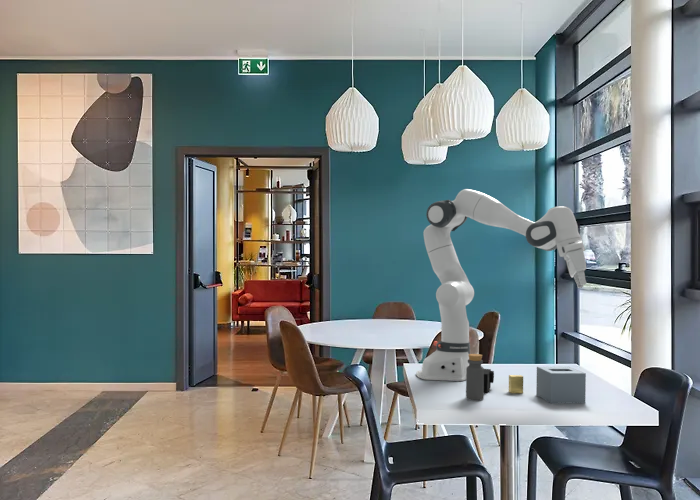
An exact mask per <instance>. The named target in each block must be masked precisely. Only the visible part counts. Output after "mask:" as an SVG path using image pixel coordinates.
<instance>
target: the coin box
mask: <svg viewBox="0 0 700 500" xmlns="http://www.w3.org/2000/svg"><path fill="white" fill-rule="evenodd" d="M586 377H587V376H586V373H585V372H583V371H580V370H579V369H575V368H573V367H571V366H536V396H537V397H539V398H542V399H543V400H544V401H546V402H547V403H549V404H586V389H587V387H586V386H587V385H586V382H587V381H586V380H587V379H586Z"/></svg>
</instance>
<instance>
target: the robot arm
mask: <svg viewBox="0 0 700 500" xmlns="http://www.w3.org/2000/svg"><path fill="white" fill-rule="evenodd" d="M425 216H426V220H427V221H428V223H429V225H427V226H426V227H425V228H424V230H423V233H422V234H423V240H424V246H425V249H426V253H427V255H428V258H429V261H430V264H431V268H432V271H433V272H434V274H435V275H436V277H437V278H438V279H439V282H440V283H441V284H440V285H439V286H438V288H437V289H436V292H435V297H436V298H435V299H436V301H437V303H438V308H439V314H440V315H439V316H440V321H441V322H440V323H441V339H440V341H437V340H434V341H433V343H432V344H433V346H435V348H436V350H435V351H433V352H432V353H431V354H430V355H428V356H427V357H425V358H424V360H423V361H422V366H421V370H417V371H416V374H415V375H416V377H418V378H419V379H422V380H424V381H425V380H428V381H429V380H430V381H450V382H451V381H452V382H453V381H454V382H455V381H456V382H463V381H466V369H467V367H468V366H469V363H468V359H469V356H468V355H469V354H471V342H470V322H469V319H468V315H467V308H466V306H468V305H469V304H470V303H471V302H472V301H473V299H474V297H475V289H474V287H473V285H472V284H471V283H470V280H469V278H468V276H467V274H466V272H465V271H464V269H463V268H462V266H461V263H460V261H459V257H458V255H457V252H456V249H455V247H454V244H453V241H452V238H451V232H455V231H456V230H457V229H458V228H460V227H462V225H463V224H465V223H466V221H467V219H468V218H470V219H471V220H474V221H476V222H477V223H480V224H483V225H485V226H491V227H497V228H503V229H507V230H510V231H513V232H515V233H518V234H519V235H523V236H524V237H525V238H526V241H527V243H528V244H529V245H530V246H532V247H535V248H538V249H541V250H543V251H547V252H551V251H555V250H556V249H557V252H558V255H559V257H560V258H561V257H562V258H563V259H564V261H565V262H566V266H567V270H568V273H569V275H570V277H571V278H573V279H574V282H575V283H576V286H577V288H578V289H581V288H584V285H587V280H586V274H585V271H586V270H587V262H586V257H585V253H584V251H586V250H585V249H586V248H585V245H584V242H583V239H582V236H581V234H580V233H579V227H578V223H577V221H576V220H577V219H576V217H575V215H574V212H573V211H572V209H571V208H570V207H568V206H566V205H565V206H563V205H562V206H560V205H559V206H554V207H551V208H549V209H548V210H547V212H546V213H545V214H544V215H543V216H542V217H541V218H540V219H538V220H537V221H535V222H534V221H532V220H531V219H528V218H525V217H523V216H521V215H520V214H517V213H515V211H513V210H511V209H510V208H509V207H507V206H506V205H505V204H503V203H502V202H500V201H499V200H498V199H496V198H495V197H492V196H490V195H488V194H486V193H484V192H481V191H478V190H474V189H469V188H464V189H462V190H460V191H459V192H458V193H457V195H456V196H455V198H454V200H450V199H446V200H445V199H444V200H439V201H435V202H432V203H431V204H430V205H429V206H427V209H426V215H425Z"/></svg>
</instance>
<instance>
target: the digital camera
mask: <svg viewBox="0 0 700 500" xmlns="http://www.w3.org/2000/svg"><path fill="white" fill-rule="evenodd" d="M494 377H495V371H494V370H492V369H491V368H490V369H489V368H484V391H483V394H488V393H489V391H490V389H491V384H494V381H495V380H494V379H495V378H494Z"/></svg>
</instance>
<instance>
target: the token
mask: <svg viewBox="0 0 700 500" xmlns="http://www.w3.org/2000/svg"><path fill="white" fill-rule="evenodd" d="M508 393H509V394H524V376H523V375H520V374H519V375H518V374H516V375H515V374H509V375H508Z"/></svg>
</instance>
